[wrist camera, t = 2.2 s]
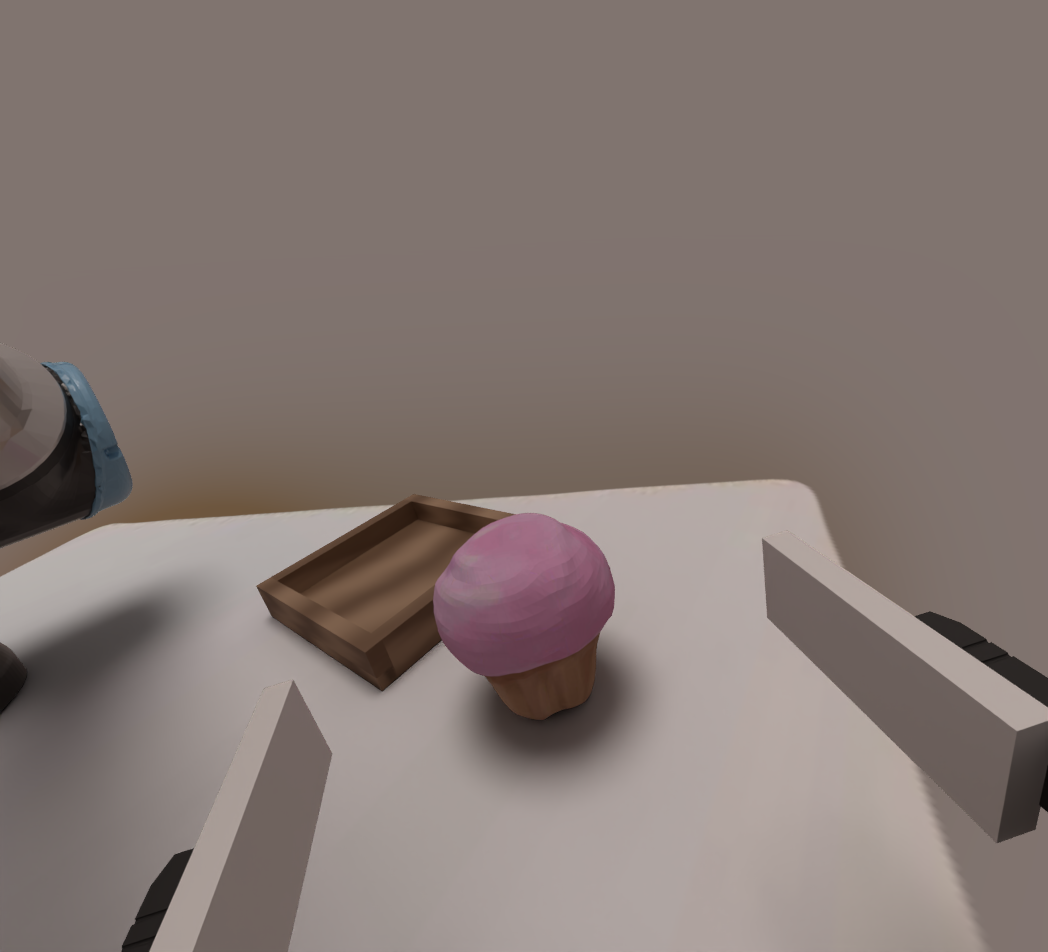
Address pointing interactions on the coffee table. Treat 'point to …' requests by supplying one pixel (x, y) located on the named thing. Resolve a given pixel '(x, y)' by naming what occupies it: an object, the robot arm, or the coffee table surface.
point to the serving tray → (376, 586)
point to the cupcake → (527, 611)
